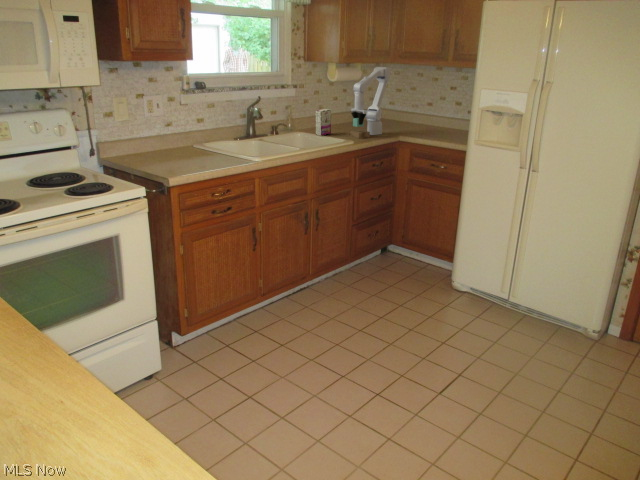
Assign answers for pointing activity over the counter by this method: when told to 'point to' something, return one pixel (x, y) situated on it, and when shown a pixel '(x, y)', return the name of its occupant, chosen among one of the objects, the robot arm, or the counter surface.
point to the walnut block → (360, 134)
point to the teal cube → (357, 122)
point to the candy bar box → (323, 122)
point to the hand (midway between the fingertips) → (358, 123)
